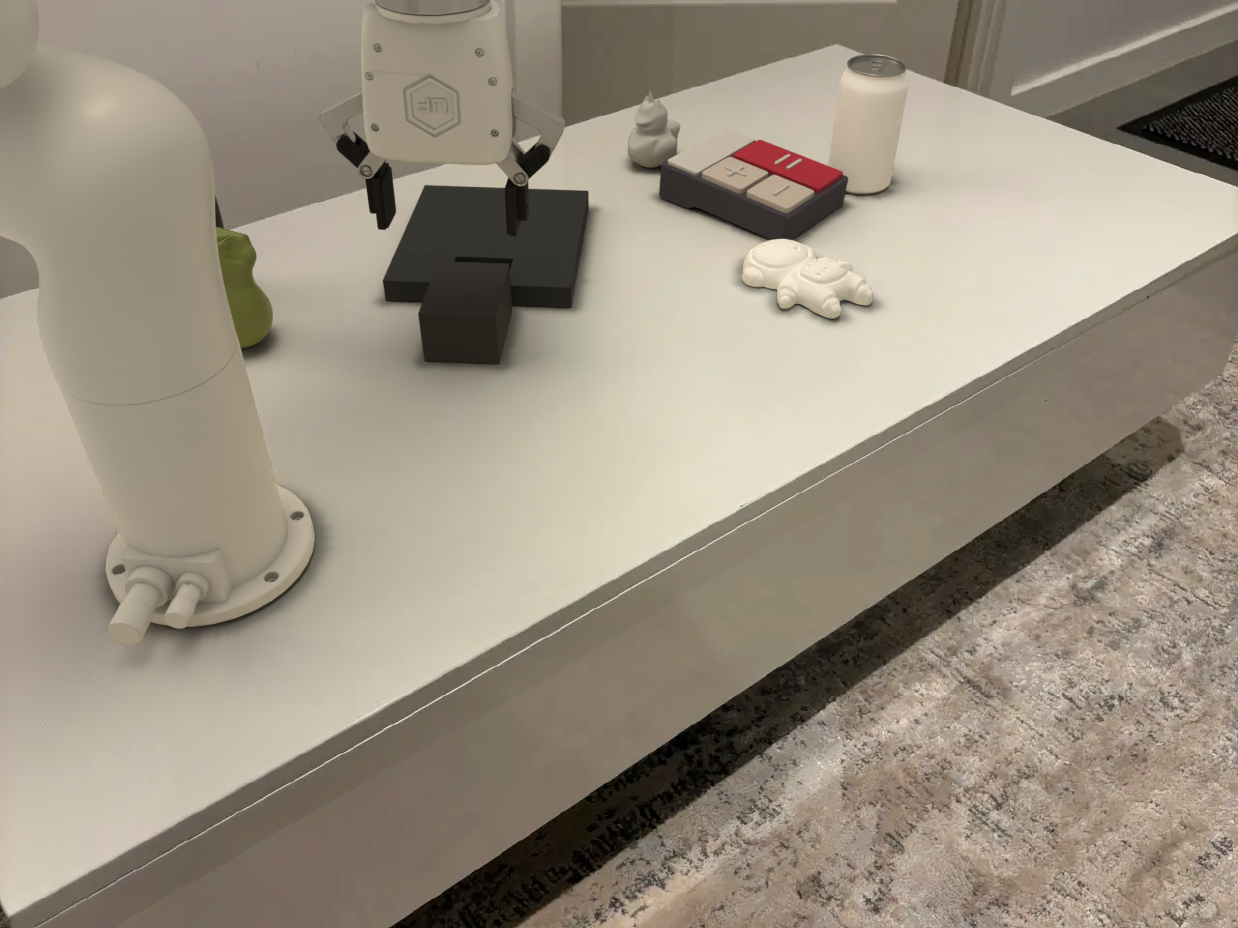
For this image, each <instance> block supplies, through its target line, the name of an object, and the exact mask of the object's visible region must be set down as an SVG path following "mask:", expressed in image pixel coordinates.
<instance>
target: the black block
mask: <svg viewBox="0 0 1238 928" xmlns="http://www.w3.org/2000/svg"><path fill="white" fill-rule="evenodd" d="M512 313H513V305H512V296H511V281H510V266H509V264H502V263H473V262H445V261H437V263H436V266H435V269H434V272H433V274H432V277H431V280H430V283H429V285H428V288H427V291H426V293H425V296H424V299H423V302H421V305H420V308H419V310H418V314H417V315H418V324H419V331H420V332H419V333H420V338H421V346H422V353H423V354H422V355H423V360H424V362H434V363H435V362H436V363H440V362H441V363H460V364H461V363H463V364H464V363H465V364H486V365H488V364H489V365H499V364H500V363H501V362H500V361H501V357H502V354H503V350H504V346H505V342H506V338H507V333H508V329H509V325H510V321H511V317H512Z"/></svg>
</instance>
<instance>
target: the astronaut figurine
mask: <svg viewBox="0 0 1238 928" xmlns="http://www.w3.org/2000/svg"><path fill="white" fill-rule="evenodd" d="M853 269H854V265H853V263H851V262H848V261H844V260H838V259H835V258H830V257H818V258H816V253H815V251H814V249H813V248H812V247H810V246H809V245H806V244H803V243H801V242H798V241H796V240H794V239H792V240H788V239H774V240H771V239H768V240H767V241H766V240H765V241H764V242H761V243H759V244H758V245H756V246H754V247H752V248H751V249H750V250H749V251H748V252H747V254H746V255H745V258H744V260H743V262H742V274H741V279H742V281H743V283H744V284H745V285H747V286H750V287H753V288H766V289H769V290H770V289H771V290H775V291H776V301H777V305H778V307H779V308H780V309H781V310H782V309H783V310H787V309H790V308H792V307H793V306H795V305H796V304H797V305H801V306H803V307H805V308H807V309H808V310H810V311H811V312H813V313H815V314H817V315H819V316H822V317H824V318H827V319H832V320H833V319H836V318H838V317H839V316H840V314H841V312H842V306H841V301H848V302H851V303H854V304H856V305H860V306H869V305H870V304H871V303H872V301H873V298H874V292H873V290H872V286H871V285H870V284H868V282H867V280H866V279H865V278H864V276H861V275H859V274H858V273H856V272H854V271H853Z"/></svg>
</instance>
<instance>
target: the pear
mask: <svg viewBox="0 0 1238 928" xmlns="http://www.w3.org/2000/svg"><path fill="white" fill-rule="evenodd" d="M216 237H217V246H218V254H219V261H220V266H221V271H222V277H223V282H224V286H225V291H226V295H227V299H228V303H229V307H230V311H231V315H232V319H233V323H234V327H235V330H236V334H237V336H238V340H239V344H240V347H241V349H243V348H244V349H245V348H249V347H252V346H255V345H256V344H258V343H260V342H262V340H264V339H265V337H266V336H267V335H268V333H270V330H271V327H272V325H273V321H274V320H273V319H274V311H273V306H272V304H271V302H270V299H269V297H268V296H267V294H266V293H265V292H264V290H263V289H262V288H261V287H260V286H259V285H258V283H257V282H256V281H255V278H254V275H253V273H254V272H253V270H254V267H255V266H256V265H255V264H256V262H257V257H258V256H257V255H258V254H257V251H256V248H255V247H254V245H253V244H252V241H251V238H250V236H249V235H248V234H246V233H242V232H238V231H234V230H230V229H227V228H224V229H222V228H219V227H216Z"/></svg>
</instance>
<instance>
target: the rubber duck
mask: <svg viewBox="0 0 1238 928" xmlns="http://www.w3.org/2000/svg"><path fill="white" fill-rule="evenodd" d="M668 116H669V112H668V109H667V108H666V106H665V105H664V104H663V103H662V102H661V100H660V99H656V100H655V98H654V97H653V93H652V91H651V90H649V92H648V94H646V96H645V98H644V100H643V101H642V103H641V104H640V105H639V107H638V108H637V112H636V114H635V117H634V121H635V126H636V127H635V126H634V128H632V129H631V131H630V133H629V135H628V139H627V155H628V157H629V158H630V159H631V161H633V162H634V163H635V164H637V165H639V166H641V167H643V168H649V169H650V168H652V169H653V168H658V167H661V164H662V163H663V162H664V161H666V160H668V159H670V158H672V157H674V156H675V155H677V152H678V137H679V133H680V131H681V123H679V122H678V121H677V120H675V119H669V118H668Z"/></svg>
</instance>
